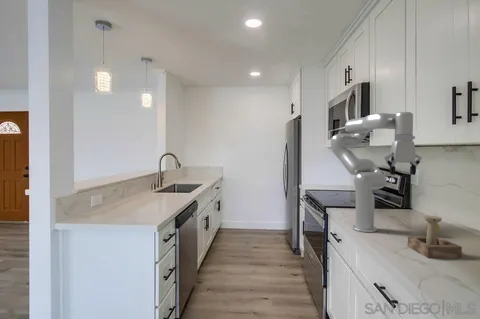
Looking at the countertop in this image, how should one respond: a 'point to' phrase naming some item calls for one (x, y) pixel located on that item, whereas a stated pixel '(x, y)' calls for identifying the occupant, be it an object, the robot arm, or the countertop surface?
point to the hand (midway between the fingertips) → (402, 174)
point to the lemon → (437, 227)
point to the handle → (432, 229)
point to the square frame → (435, 248)
